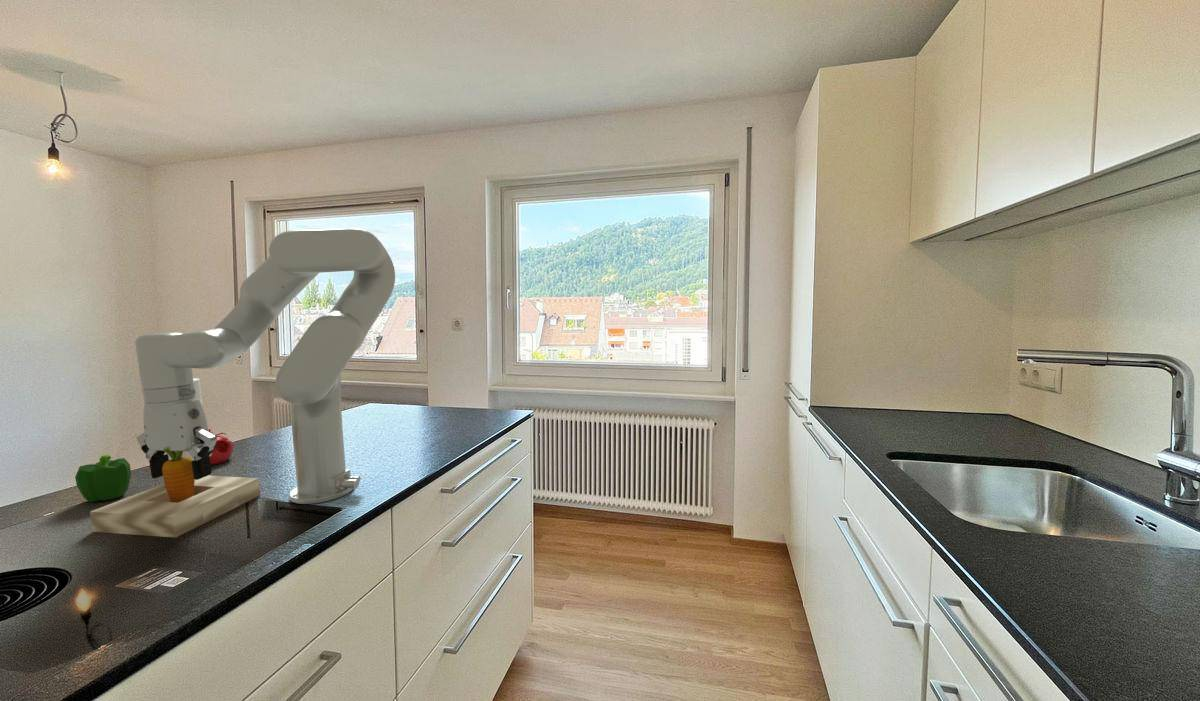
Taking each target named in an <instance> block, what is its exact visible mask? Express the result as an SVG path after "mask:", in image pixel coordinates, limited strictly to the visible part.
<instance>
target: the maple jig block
mask: <svg viewBox="0 0 1200 701" xmlns="http://www.w3.org/2000/svg"><path fill="white" fill-rule="evenodd" d="M260 496H261V490H260V479H259V478H258V477H245V476H243V477H242V476H241V477H240V476H225V475H210V476H206V477H203V478H201V479H198V480H195V483H194V492H193V496H192V497H190V498H188V499H186V500H183V501H181V502H179V503H176V502H171V500H170V498H169V495H168V493H167V490H166V488H165V483H162V484H159V485H156V486H154V487H151V488H149V489H146V490H143V491H141V492H138V493H135V494H133V495H130V496H127V497H125V498H123V499H120V500H117V501H115V502H112V503H108V504H107V505H104V506H101V507H99V508H96V509H93V510H90V511H89V513H90V520H91V527H92V532H93V533H102V534H103V533H104V534H106V533H107V534H118V535H122V534H123V535H135V536H148V537H161V538H179V537H180V536H182V535H184V534H186V533H188V532H191V531H192V530H194V529H196V528H197V527H200V526H203V525H205V524H206V523H208V522H210V521H212V520H214V519H216V518H218V517H220V516H222V515H224V514H226V513H228V512H230V511H232V510H234V509H235V508H237V507H239V506H242V505H244V504H246V503H248V502H250V501H251V500H254V499H255V498H258V497H260Z"/></svg>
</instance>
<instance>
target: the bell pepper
mask: <svg viewBox="0 0 1200 701" xmlns="http://www.w3.org/2000/svg"><path fill="white" fill-rule="evenodd" d="M111 458H112V456H110V455H109V454H102V455H101V456H100V457H99V461H97V462H96V463H94V464H93V463H90V464H84V465H80V466H79V467H78V470H77V472H76V474H75V476H74V477H75V482H76V487H77V488H78V490H79V493H80V494H81V495H82V497H83V498H84V500H86V501H88V502H90V503H94V502H99V501H111V500H115V499H118V498H121V497H123V496H124V495H125V494H126V492H127V490H128V489H129V487H130V482H131V478H132V471H131V464H130V463H129V462H128V461H127V459H126V458H124V457H122V458H117V459H114V460H113V459H112V460H111Z"/></svg>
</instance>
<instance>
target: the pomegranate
mask: <svg viewBox="0 0 1200 701" xmlns="http://www.w3.org/2000/svg"><path fill="white" fill-rule="evenodd" d="M208 430H209V433H211V434H212V435H214V436H216V437H217V441H216V444H215V449H214V450H213V452H212V455H211V456H209V457H210V464H211V466H215V465H218V464H222V463H224V462H227V460H229V459H230V458H231V457H232V455H233V452H234V447H235V446H234V443H233V441H231V440H230V439H229V438H228V437H226V436H223V435H227V433H225V432H220V433H218V434H213V433H214V431H213V430H211V428H210V427H208Z"/></svg>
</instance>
